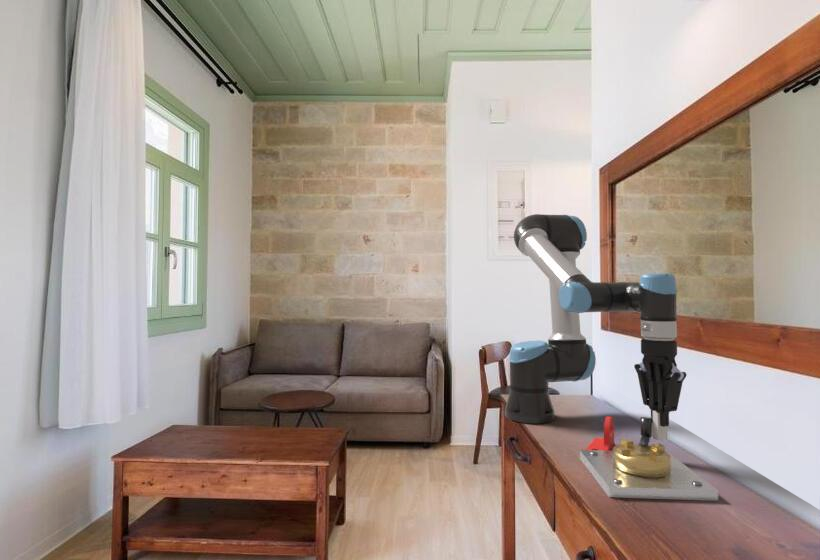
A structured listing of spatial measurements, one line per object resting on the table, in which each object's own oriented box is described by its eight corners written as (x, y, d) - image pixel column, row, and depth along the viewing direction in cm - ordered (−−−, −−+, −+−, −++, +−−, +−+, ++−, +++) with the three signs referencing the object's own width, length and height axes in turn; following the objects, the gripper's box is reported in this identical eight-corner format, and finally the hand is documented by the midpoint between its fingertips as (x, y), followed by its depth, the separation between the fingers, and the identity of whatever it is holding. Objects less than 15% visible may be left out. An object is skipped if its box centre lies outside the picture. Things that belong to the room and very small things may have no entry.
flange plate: (579, 458, 108) (579, 448, 108) (667, 460, 106) (667, 450, 106) (609, 497, 88) (609, 485, 88) (718, 500, 86) (717, 488, 86)
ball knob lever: (669, 481, 89) (669, 446, 89) (609, 470, 95) (608, 436, 95) (673, 450, 106) (672, 420, 106) (621, 442, 112) (621, 413, 112)
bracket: (595, 441, 120) (595, 411, 120) (614, 444, 117) (613, 414, 117) (584, 455, 110) (584, 422, 110) (604, 459, 107) (603, 426, 107)
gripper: (625, 336, 112) (626, 431, 112) (669, 342, 100) (671, 449, 99) (649, 335, 114) (650, 428, 114) (695, 340, 102) (697, 446, 102)
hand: (660, 438), depth 107 cm, fingers closed
